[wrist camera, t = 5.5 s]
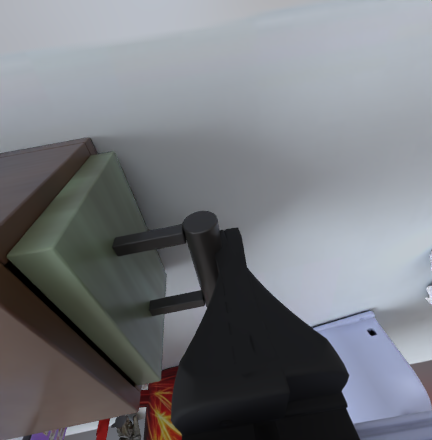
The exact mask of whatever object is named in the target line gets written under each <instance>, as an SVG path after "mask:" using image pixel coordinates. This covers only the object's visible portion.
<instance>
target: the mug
mask: <svg viewBox="0 0 432 440" xmlns="http://www.w3.org/2000/svg"><path fill="white" fill-rule="evenodd" d="M178 367H179V366H177V367H173V368H169V369H166V370H163V371H161V381H158V382H153V383H149V384H148V390H141V392H140V394H141V395H140V404H139V408H140V407H146V418H145V430H144V440H182V434H181V433H180V432H179V431H178V430H177V429H176V428H175V427H174V425H173V424H172V422H171V405H172V394H173V388H174V383H175V378H176V374H177V371H178ZM109 421H110V418H108V419H104V420H99V424H98V429H97V433H96V435H97V438H96V440H106V437H107V431H108V426H109Z"/></svg>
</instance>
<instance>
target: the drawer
mask: <svg viewBox="0 0 432 440" xmlns="http://www.w3.org/2000/svg"><path fill="white" fill-rule="evenodd" d="M186 240H187V244H188V247H189V250H190V254H191V257H192V261H193V264H194V267H195V271H196V274H197V277H198V281H199V284H200V287H201V290H200V291H195V292H190V293H185V294H180V295H175V296H170V297H165V294H166V275H167V274H166V272H165V270H164V267H163V265H162V263H161V260H160V258H159V255H158V253H157V251H156V249H160V248H165V247H170V246H176V245H181V244H185V243H186ZM221 247H222V243H221V237H220V231H219V225H218V219H217V217H216V215H215V214H214V213H212V212H209V211H198V212H194V213H192V214H190V215H188V216H187V217H186V218H185V219H184V221H183V224H182V225H177V226H171V227H166V228H161V229H156V230H151V231H148V230H147V227H146V225H145V222H144V220H143V218H142V215H141V213H140V211H139V208H138V206H137V204H136V201H135V199H134V196H133V194H132V192H131V189H130V187H129V185H128V182H127V180H126V178H125V175H124V173H123V171H122V168H121V166H120V163H119V161H118V159H117V156H116V154H115V152H114V151H112V152H107V153H101V154H96V155H91V156H90V157H89V158H88V159H87V160H86V162H85V163H84V164H83V165H82V166H81V168H80V169H79V170H78V171H77V172H76V173H75V175H74V176H73V177H72V178H71V179H70V181H69V182H68V183H67V184H66V185H65V187H64V188H63V189H62V190H61V191H60V193H59V194H58V195H57V196H56V197H55V198H54V200H53V201H52V202H51V203H50V204H49V206H48V207H47V208H46V209H45V210H44V212H43V213H42V214H41V215H40V216H39V217H38V219H37V220H36V221H35V222H34V223H33V225H32V226H31V227H30V228H29V229H28V231H27V232H26V233H25V234H24V235H23V237H22V238H21V239H20V240H19V241H18V242H17V244H16V245H15V246H14V247H13V248H12V250H11V251H10V252H9V253H8V254H7V256H6V257H7V259H9V261H8V263H6V264H5V265H4V266H5V267H6V268H8V269H9V270H10V271H11V272H12V273H13V274H14V275H15V276H16V277H17V278H18V279H19V280H20V281H21V282H23V283H24V284H25V285H26V286H27V287H28V288H29V289H30V290H31V291H32V292H33V293H34V294H35V295H36V296H37V297H39V298H40V299H41V300H42V301H43V302H44V303H45V304H46V305H47V306H48V307H49V308H50V309H51V310H52V311H53V312H55V313H56V314H57V315H58V316H59V317H60V318H61V319H62V320H63V321H64V322H65V323H66V324H67V325H68V326H69V327H71V328H72V329H73V330H74V331H75V332H76V333H77V334H78V335H79V336H80V337H81V338H82V339H83V340H84V341H85V342H87V343H88V344H89V345H90V346H91V347H92V348H93V349H94V350H95V351H96V352H97V353H98V354H99V355H100V356H101V357H103V358H104V359H105V360H106V361H107V362H108V363H109V364H110V361H111V360H112V361H113V362H114V363H115V364H116V365H117V366H118V367H119V368H120V369H121V370H122V371H123V372H124V373H125V374H126V375H127V376H128V377H130V378H131V379H132V380H133V381H134V382H135V383H136V384H137V385H138V386H139V385H144V384H148V383H153V382H158V381H161V370H162V351H163V332H164V314H166V313H171V312H176V311H181V310H186V309H191V308H196V307H201V306H205V304H206V307H208V305H209V302H210V300H211V297H212V294H213V291H214V288H215V285H216V282H217V279H218V275H219V274H218V269H217V263H216V257H215V253H217V252H218V251H219V250H220V249H221Z"/></svg>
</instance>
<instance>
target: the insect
mask: <svg viewBox="0 0 432 440" xmlns="http://www.w3.org/2000/svg"><path fill="white" fill-rule="evenodd" d="M133 422H134V424H132V422H131V421H129V418H128V416H125V415H122V416H119V417H117V418H116V421H115V423H114V424H113V425H112V426H111V427H112V428H113V427H116V428H117V432H118V433H119V435H118V436H119V437H120V436H121V437H120V439H119V440H141V435H140V429H139V425H138V419H137V415H134V417H133Z"/></svg>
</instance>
